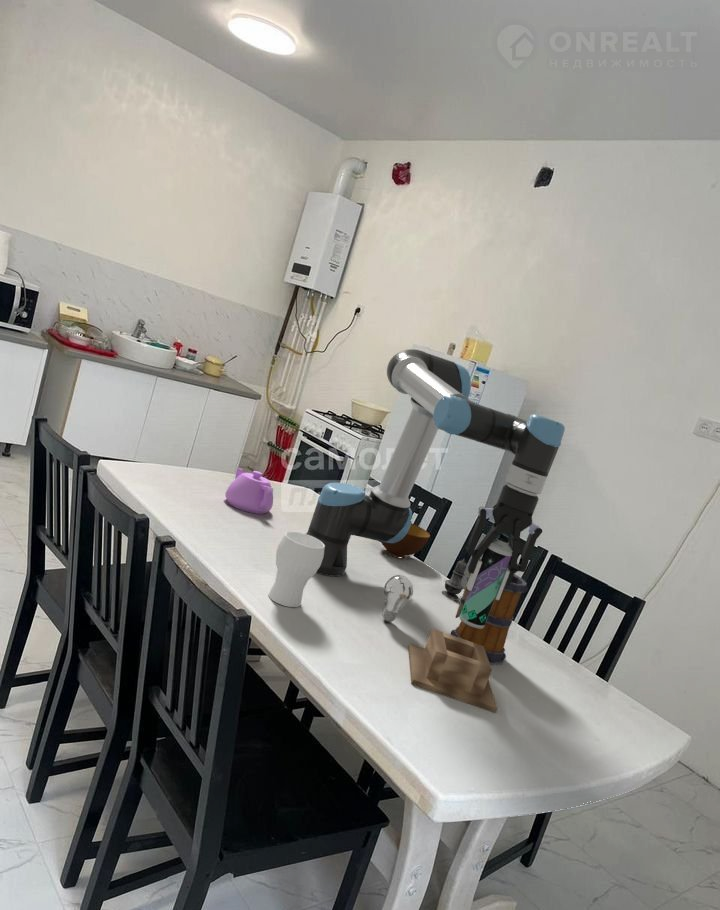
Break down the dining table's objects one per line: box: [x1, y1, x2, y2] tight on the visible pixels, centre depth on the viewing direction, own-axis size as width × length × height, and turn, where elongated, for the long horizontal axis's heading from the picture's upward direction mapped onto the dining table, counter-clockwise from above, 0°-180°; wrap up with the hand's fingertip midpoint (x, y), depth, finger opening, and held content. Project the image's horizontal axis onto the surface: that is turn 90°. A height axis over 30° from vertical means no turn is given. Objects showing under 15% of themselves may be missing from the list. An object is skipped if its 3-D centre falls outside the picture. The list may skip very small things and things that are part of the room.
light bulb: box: [381, 574, 414, 624], centre depth 166 cm, size 7×7×12 cm
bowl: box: [380, 522, 431, 558], centre depth 228 cm, size 18×18×10 cm
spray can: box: [458, 532, 513, 629], centre depth 144 cm, size 6×6×20 cm
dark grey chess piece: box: [441, 558, 468, 601], centre depth 204 cm, size 6×6×12 cm
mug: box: [450, 572, 529, 666], centre depth 170 cm, size 19×14×20 cm
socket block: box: [407, 628, 499, 714], centre depth 147 cm, size 18×18×7 cm
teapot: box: [225, 467, 274, 515], centre depth 224 cm, size 22×16×12 cm
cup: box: [268, 530, 325, 608], centre depth 158 cm, size 11×11×15 cm
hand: (482, 592), depth 145 cm, fingers closed on spray can, 5 cm apart
